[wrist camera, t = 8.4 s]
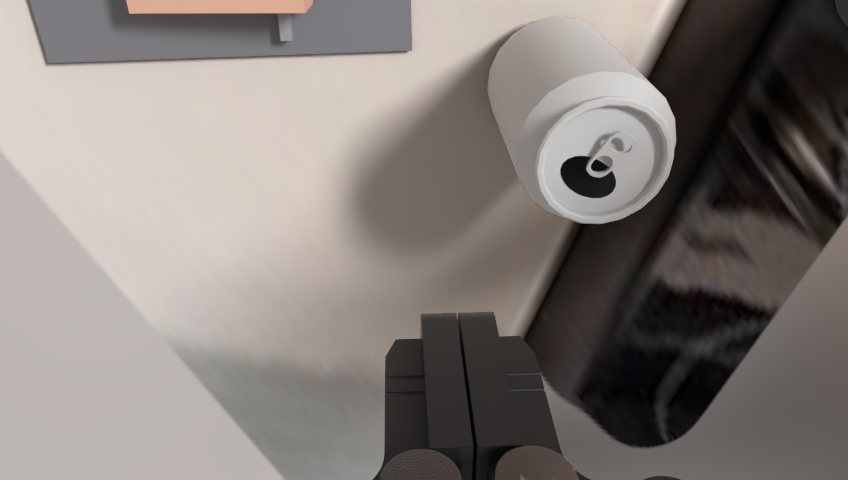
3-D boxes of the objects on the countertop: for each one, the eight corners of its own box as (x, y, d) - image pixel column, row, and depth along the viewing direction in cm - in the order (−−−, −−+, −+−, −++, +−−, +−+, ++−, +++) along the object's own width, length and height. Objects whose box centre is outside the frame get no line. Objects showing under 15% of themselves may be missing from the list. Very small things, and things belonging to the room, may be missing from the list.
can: (460, 100, 41) (488, 195, 31) (534, -14, 38) (592, 50, 28) (561, 157, 44) (617, 262, 34) (638, 54, 41) (726, 136, 30)
